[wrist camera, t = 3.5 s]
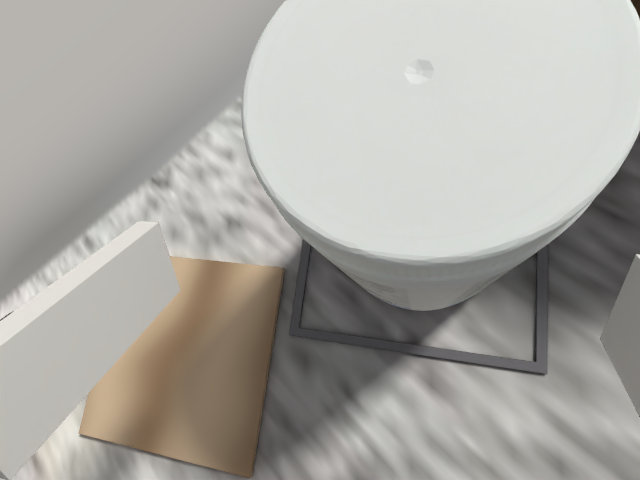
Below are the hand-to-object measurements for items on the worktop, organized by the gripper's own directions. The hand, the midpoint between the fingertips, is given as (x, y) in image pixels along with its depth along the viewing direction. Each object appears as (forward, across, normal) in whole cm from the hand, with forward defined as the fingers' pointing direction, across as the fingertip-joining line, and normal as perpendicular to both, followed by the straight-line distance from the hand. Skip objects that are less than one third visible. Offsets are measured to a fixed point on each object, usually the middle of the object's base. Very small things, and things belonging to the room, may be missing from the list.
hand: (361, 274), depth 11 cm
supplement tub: (+12, +2, -5) cm, 13 cm away
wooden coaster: (+5, -13, -11) cm, 18 cm away
